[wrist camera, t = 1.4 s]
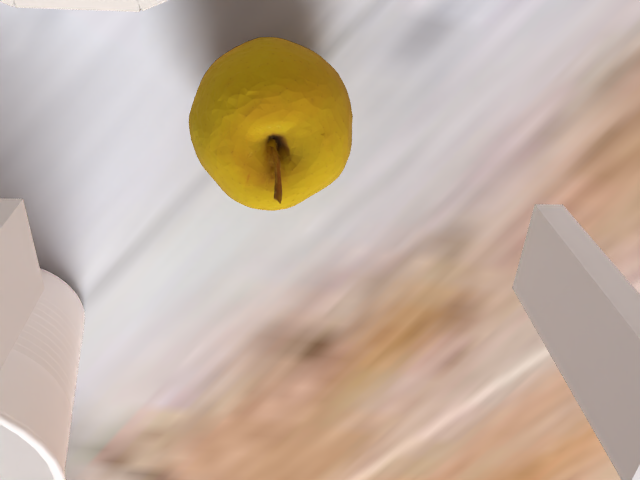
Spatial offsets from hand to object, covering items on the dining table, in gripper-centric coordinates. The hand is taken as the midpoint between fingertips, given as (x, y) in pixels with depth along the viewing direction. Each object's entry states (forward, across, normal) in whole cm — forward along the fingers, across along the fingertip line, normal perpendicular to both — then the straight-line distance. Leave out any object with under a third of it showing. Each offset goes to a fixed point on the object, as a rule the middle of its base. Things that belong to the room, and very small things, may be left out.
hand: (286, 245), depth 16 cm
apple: (+13, 0, 0) cm, 13 cm away
